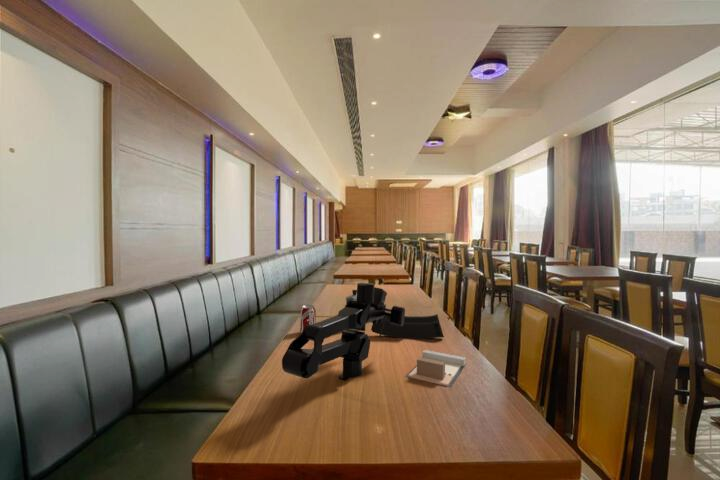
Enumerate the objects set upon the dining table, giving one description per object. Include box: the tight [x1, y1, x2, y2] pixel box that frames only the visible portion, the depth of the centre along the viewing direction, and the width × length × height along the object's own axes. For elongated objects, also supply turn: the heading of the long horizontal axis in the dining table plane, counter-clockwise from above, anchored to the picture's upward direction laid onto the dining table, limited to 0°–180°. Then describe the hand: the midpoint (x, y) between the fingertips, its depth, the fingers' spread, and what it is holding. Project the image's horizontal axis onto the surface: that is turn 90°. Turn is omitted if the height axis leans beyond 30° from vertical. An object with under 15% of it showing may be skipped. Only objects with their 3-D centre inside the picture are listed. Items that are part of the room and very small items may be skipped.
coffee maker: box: [345, 289, 360, 331], centre depth 154 cm, size 15×9×18 cm, turn 159°
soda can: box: [299, 304, 317, 334], centre depth 148 cm, size 7×7×12 cm
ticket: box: [416, 362, 461, 378], centre depth 109 cm, size 12×12×1 cm
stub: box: [407, 356, 453, 387], centre depth 101 cm, size 6×12×5 cm, turn 60°
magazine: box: [370, 313, 445, 340], centre depth 142 cm, size 17×3×30 cm
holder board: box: [405, 349, 467, 389], centre depth 106 cm, size 20×14×4 cm
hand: (389, 309), depth 125 cm, fingers open, 9 cm apart
